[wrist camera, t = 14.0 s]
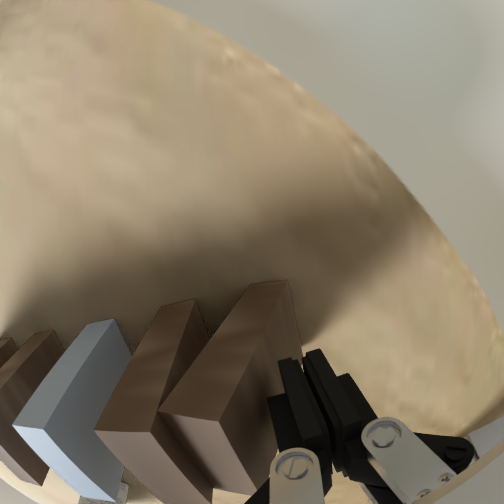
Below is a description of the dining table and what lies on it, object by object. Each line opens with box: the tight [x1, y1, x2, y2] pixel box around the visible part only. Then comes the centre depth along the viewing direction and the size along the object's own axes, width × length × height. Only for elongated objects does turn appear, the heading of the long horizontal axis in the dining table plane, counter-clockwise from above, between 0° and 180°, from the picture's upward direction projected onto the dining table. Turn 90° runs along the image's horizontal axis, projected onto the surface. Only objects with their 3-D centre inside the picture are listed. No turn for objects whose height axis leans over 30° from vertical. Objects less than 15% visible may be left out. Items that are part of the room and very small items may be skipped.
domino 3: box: [94, 299, 213, 504], centre depth 11 cm, size 2×5×9 cm, turn 13°
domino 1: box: [0, 330, 65, 487], centre depth 11 cm, size 2×5×9 cm, turn 13°
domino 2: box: [12, 318, 132, 502], centre depth 11 cm, size 2×5×9 cm, turn 13°
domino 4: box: [157, 280, 303, 495], centre depth 11 cm, size 2×5×9 cm, turn 14°
